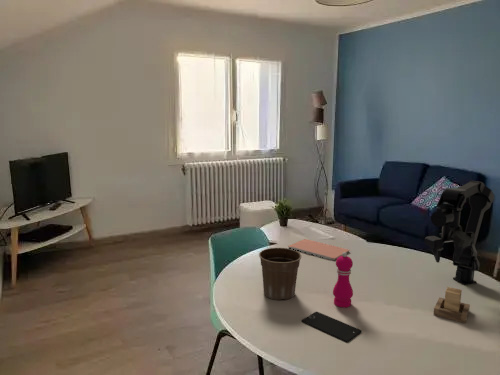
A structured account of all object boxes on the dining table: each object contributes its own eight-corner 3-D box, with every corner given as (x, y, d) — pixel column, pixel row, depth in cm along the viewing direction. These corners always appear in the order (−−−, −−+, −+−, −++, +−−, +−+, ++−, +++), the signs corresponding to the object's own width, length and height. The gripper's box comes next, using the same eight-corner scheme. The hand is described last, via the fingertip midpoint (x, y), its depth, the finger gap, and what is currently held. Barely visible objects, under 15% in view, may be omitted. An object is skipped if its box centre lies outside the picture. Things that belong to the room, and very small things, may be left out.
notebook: (286, 249, 208) (286, 246, 208) (304, 241, 220) (304, 238, 220) (333, 262, 190) (333, 258, 190) (349, 253, 203) (350, 249, 202)
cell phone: (316, 313, 142) (316, 311, 142) (361, 332, 130) (362, 330, 130) (300, 322, 136) (300, 320, 136) (347, 344, 124) (347, 341, 123)
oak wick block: (445, 308, 145) (447, 286, 143) (459, 312, 142) (461, 289, 140) (443, 314, 141) (445, 291, 139) (457, 317, 138) (460, 294, 137)
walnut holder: (438, 303, 148) (439, 297, 148) (469, 311, 143) (469, 304, 142) (433, 314, 140) (434, 308, 140) (465, 323, 135) (466, 316, 134)
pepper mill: (353, 300, 151) (355, 250, 147) (351, 309, 144) (354, 256, 140) (333, 297, 153) (335, 248, 149) (331, 306, 146) (333, 254, 143)
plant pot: (305, 289, 161) (306, 250, 158) (292, 306, 146) (293, 265, 143) (268, 282, 168) (268, 245, 165) (252, 298, 153) (252, 258, 150)
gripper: (447, 230, 142) (443, 271, 145) (488, 225, 147) (483, 265, 150) (425, 222, 152) (421, 260, 155) (464, 218, 158) (460, 255, 161)
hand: (447, 261), depth 155 cm, fingers open, 9 cm apart
